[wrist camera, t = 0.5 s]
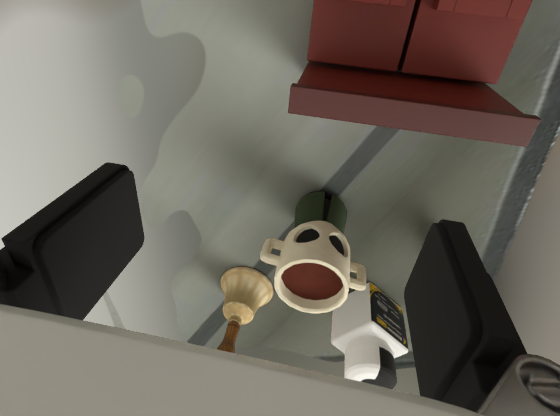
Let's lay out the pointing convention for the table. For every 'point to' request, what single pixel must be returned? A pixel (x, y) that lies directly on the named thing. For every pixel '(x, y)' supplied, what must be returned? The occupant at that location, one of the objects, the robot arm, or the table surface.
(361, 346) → the medicine bottle
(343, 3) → the red white-inset block
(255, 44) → the table surface
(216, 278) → the table surface
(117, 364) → the robot arm
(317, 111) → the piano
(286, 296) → the character mug
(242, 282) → the hand bell
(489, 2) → the red grey-inset block
